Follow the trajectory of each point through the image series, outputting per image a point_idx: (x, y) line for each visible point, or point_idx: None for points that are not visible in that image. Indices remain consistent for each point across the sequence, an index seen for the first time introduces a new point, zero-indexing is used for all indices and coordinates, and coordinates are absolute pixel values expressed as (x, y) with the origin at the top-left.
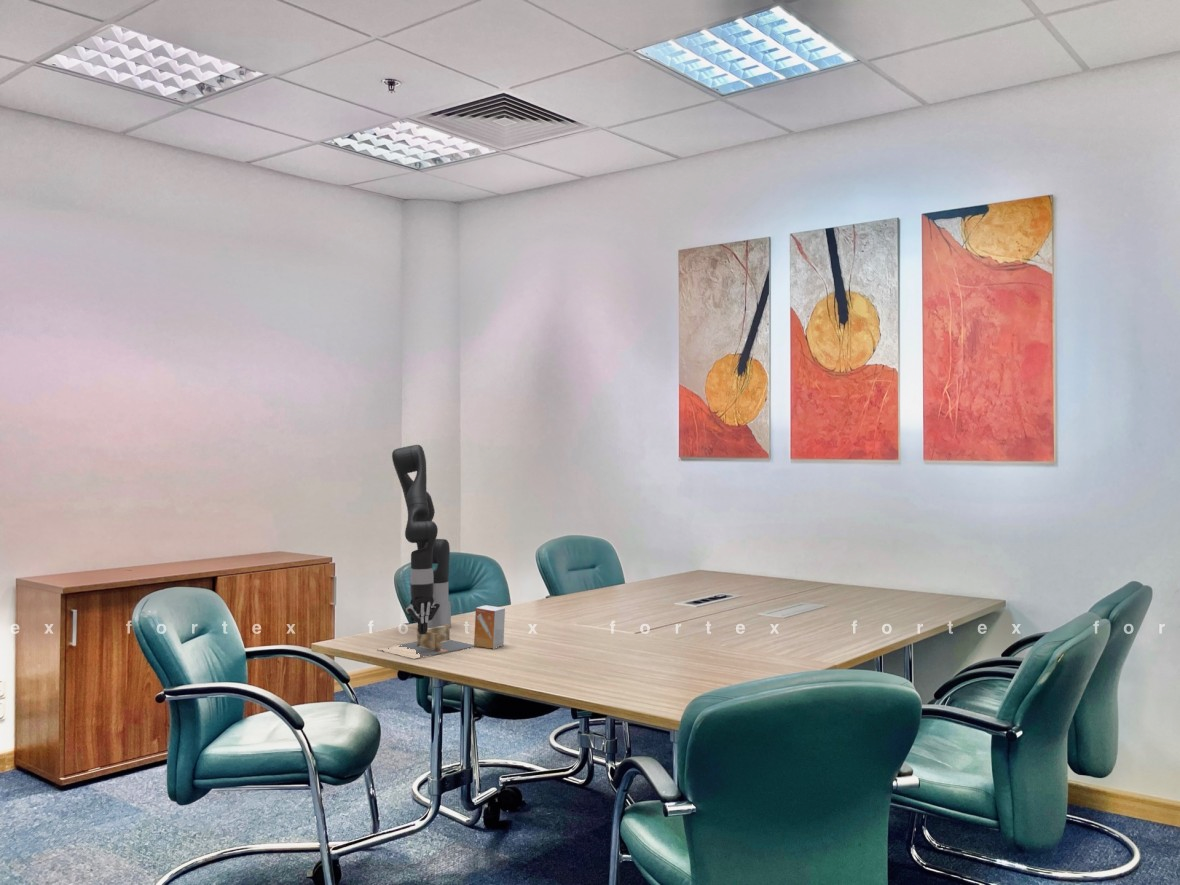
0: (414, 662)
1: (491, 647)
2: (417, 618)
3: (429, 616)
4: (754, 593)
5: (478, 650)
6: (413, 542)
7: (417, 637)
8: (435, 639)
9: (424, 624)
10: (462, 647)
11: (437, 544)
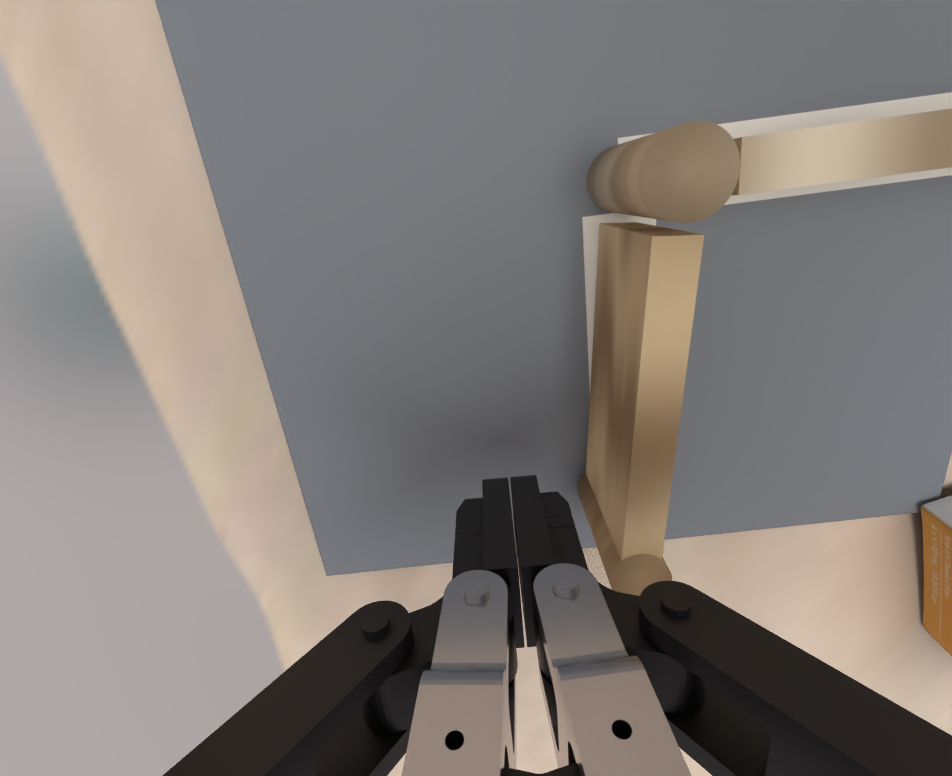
0: (301, 630)
1: (929, 625)
2: (384, 754)
3: (664, 710)
4: None
5: (835, 595)
6: None
7: (609, 179)
8: (598, 546)
9: (526, 628)
10: (814, 495)
11: None
